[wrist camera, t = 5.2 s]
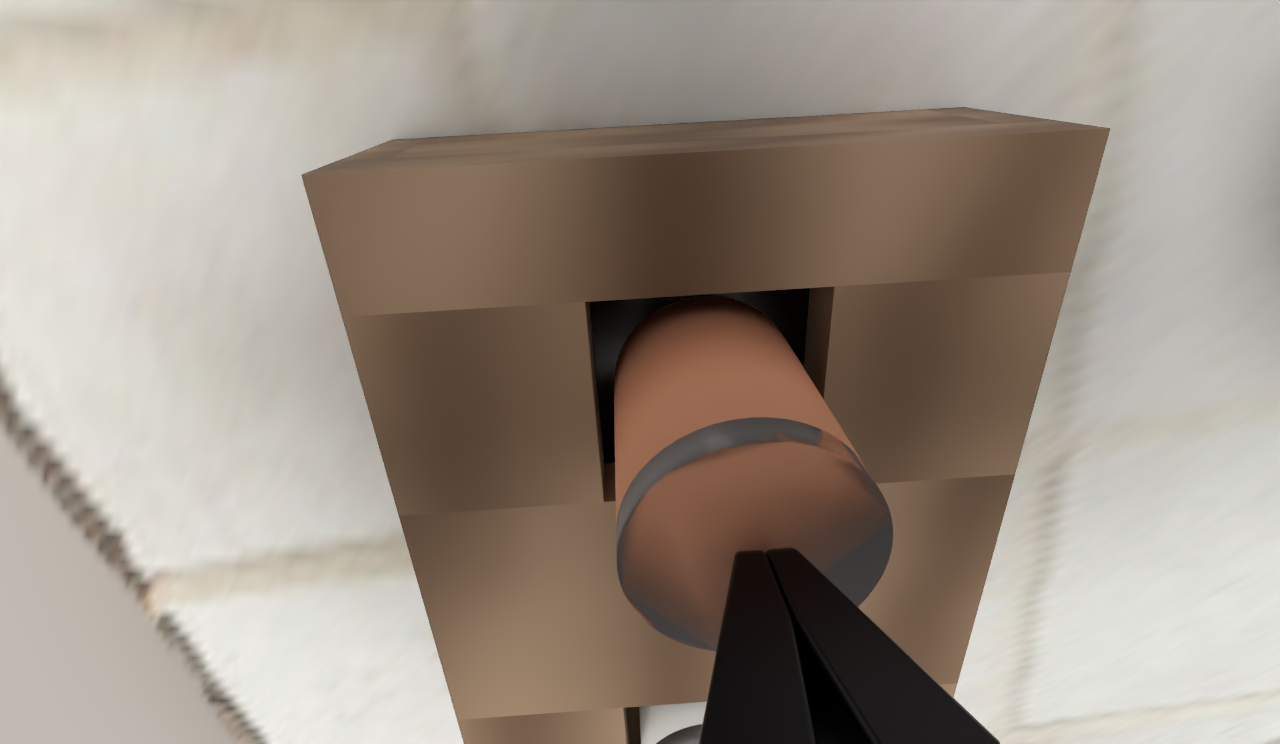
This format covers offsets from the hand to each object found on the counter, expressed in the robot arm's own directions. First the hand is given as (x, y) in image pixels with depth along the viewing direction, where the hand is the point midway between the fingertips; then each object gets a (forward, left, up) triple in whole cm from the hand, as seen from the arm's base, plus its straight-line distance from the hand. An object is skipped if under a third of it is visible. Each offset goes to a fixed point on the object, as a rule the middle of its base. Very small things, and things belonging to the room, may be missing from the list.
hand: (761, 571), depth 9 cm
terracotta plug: (0, 0, -6) cm, 6 cm away
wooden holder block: (0, +6, -10) cm, 11 cm away
